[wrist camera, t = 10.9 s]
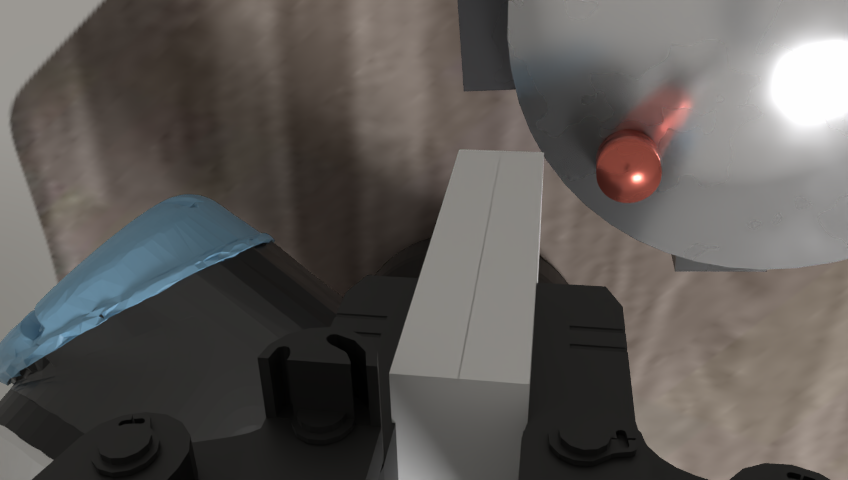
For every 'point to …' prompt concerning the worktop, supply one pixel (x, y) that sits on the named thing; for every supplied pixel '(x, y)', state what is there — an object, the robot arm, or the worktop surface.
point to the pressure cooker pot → (492, 71)
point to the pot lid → (695, 120)
